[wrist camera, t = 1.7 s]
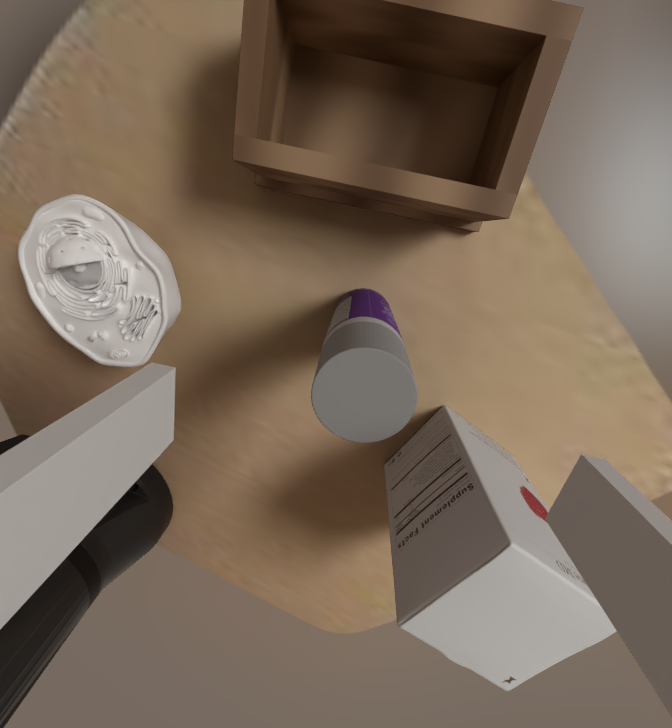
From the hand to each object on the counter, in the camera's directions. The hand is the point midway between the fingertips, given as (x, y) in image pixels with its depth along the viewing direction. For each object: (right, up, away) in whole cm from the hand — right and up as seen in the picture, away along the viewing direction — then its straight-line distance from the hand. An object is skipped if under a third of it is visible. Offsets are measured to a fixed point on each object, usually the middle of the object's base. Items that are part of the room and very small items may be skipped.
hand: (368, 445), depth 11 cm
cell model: (-18, +10, +18) cm, 27 cm away
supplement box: (+10, -6, +22) cm, 25 cm away
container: (+1, +7, +17) cm, 19 cm away
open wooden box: (+2, +19, +12) cm, 23 cm away
